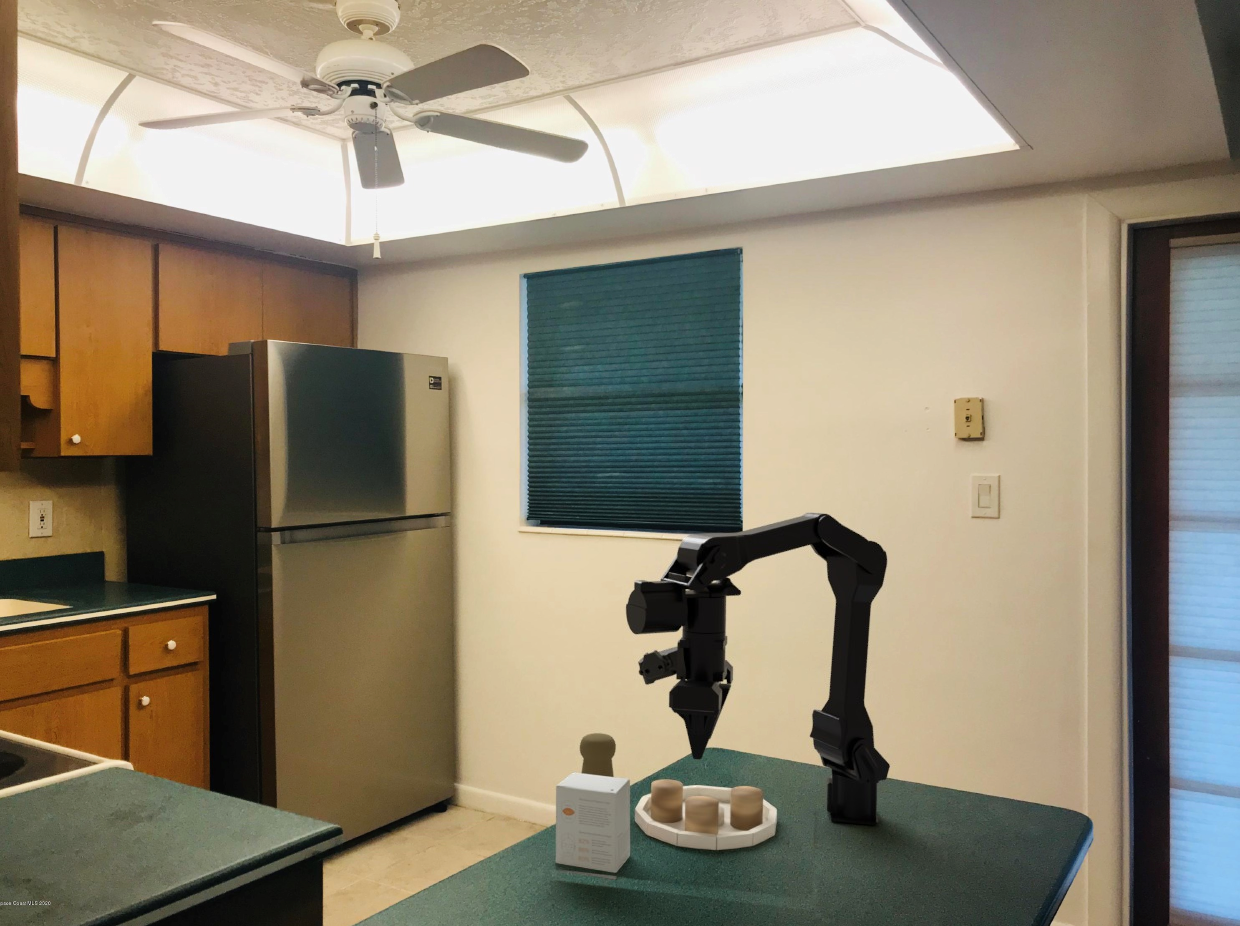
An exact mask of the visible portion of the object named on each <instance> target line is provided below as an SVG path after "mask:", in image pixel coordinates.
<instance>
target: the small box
mask: <svg viewBox="0 0 1240 926" xmlns="http://www.w3.org/2000/svg"><path fill="white" fill-rule="evenodd" d="M630 856H631V780H630V779H629V778H623V777H615V776H614V777H608V776H599V775H591V774H582V773H581V772H572V773H569V775H567V777H565V778H564V779H563V780H562V781H561V782H559V783H558V784H556V786H555V863H556V864H560V865H565V866H571V867H580V868H584V869H590V870H597V871H603V872H609V873H618V871H619V870H620V869H621V868H622V867H623V866H624V864H625V863H626V862H627V860H628V859H629V858H630ZM555 871H557V872H565V873H569V874H576V875H583V876H588V877H589V876H590V877H595V878H599V879H600V878H601V879H608V880H614V881H615V880H617V878H618V877H619V876H617V875H610V874H600V873H591V872H584V871H583V872H582V871H575V870H567V869H566V870H565V869H557V868H556V869H555Z"/></svg>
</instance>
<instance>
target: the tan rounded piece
mask: <svg viewBox="0 0 1240 926" xmlns="http://www.w3.org/2000/svg"><path fill="white" fill-rule="evenodd" d="M763 799H764V792H763V790H762V789H760V788H758V787H755V786H748V785H740V786H735V787H732V788H731V799H730V825H731V826H732V827H733V828H735V829H738V830H743V831H748V830H751V829H753V828H755V827H757V826H759V825H761V824H763Z"/></svg>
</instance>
